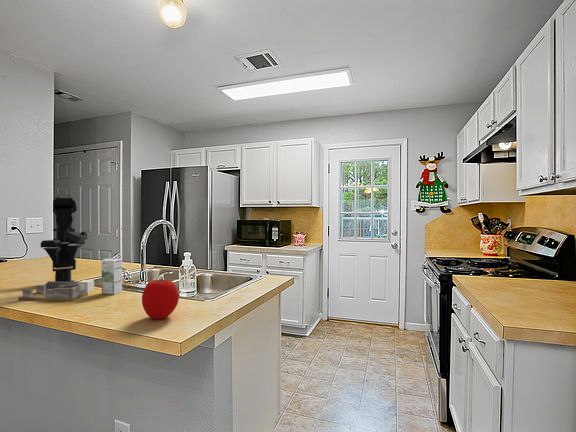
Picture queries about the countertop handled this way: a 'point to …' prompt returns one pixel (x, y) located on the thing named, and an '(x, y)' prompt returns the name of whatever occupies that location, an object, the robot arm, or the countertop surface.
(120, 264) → the syrup box
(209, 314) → the countertop surface
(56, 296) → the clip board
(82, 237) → the robot arm
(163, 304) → the red apple
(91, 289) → the gray rod with block
